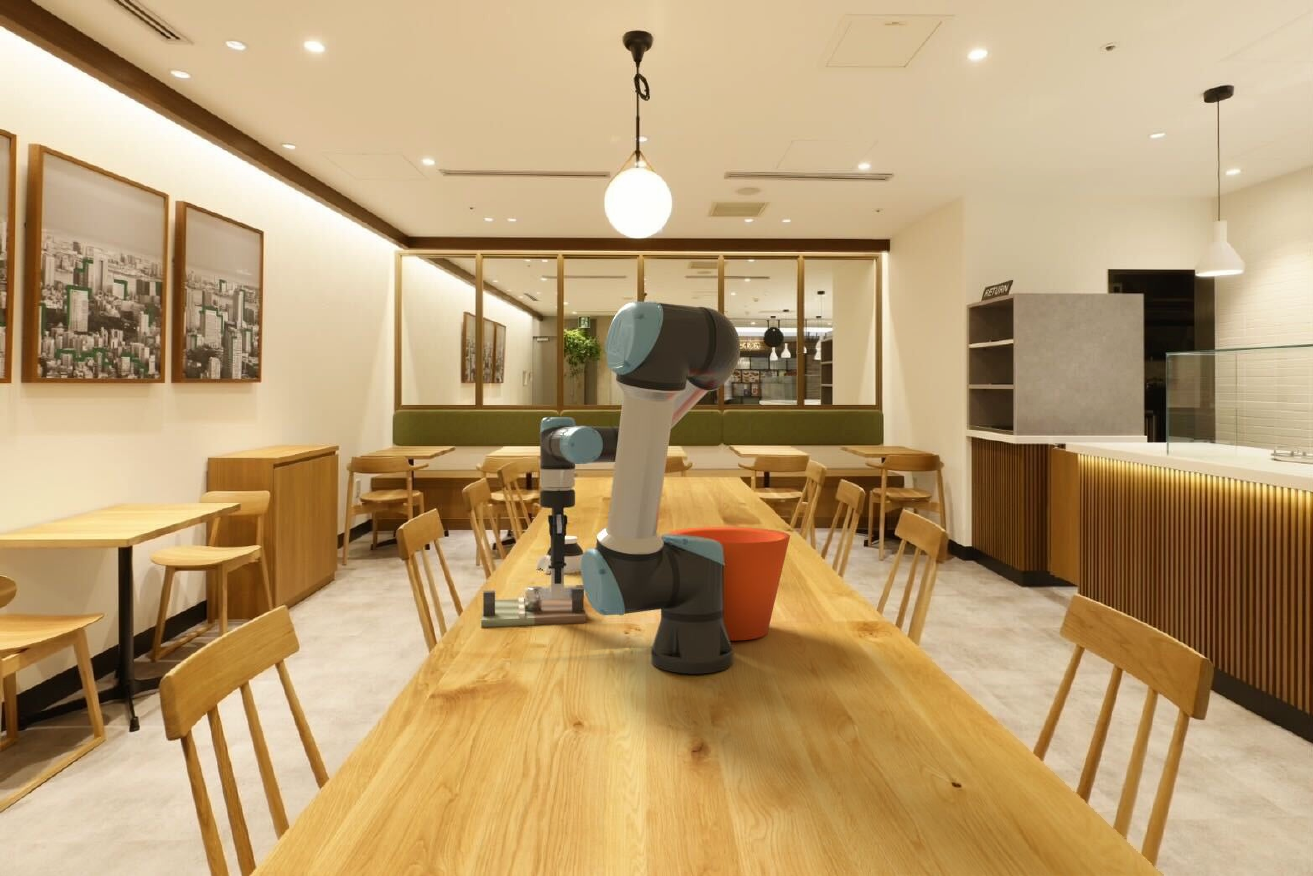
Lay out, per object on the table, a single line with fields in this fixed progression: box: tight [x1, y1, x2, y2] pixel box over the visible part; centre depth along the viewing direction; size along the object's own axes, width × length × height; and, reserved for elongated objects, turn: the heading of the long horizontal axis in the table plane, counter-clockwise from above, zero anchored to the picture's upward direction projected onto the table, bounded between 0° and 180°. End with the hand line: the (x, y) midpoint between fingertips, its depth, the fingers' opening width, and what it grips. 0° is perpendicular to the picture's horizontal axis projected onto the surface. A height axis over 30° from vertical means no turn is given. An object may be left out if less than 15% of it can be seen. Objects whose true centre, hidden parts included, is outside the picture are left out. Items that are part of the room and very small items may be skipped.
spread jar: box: [535, 535, 584, 575], centre depth 208 cm, size 12×11×12 cm
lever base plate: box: [480, 587, 587, 628], centre depth 167 cm, size 19×22×6 cm
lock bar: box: [524, 584, 584, 611], centre depth 166 cm, size 13×4×5 cm, turn 101°
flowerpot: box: [668, 526, 791, 641], centre depth 154 cm, size 25×25×20 cm
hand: (557, 597), depth 161 cm, fingers closed
